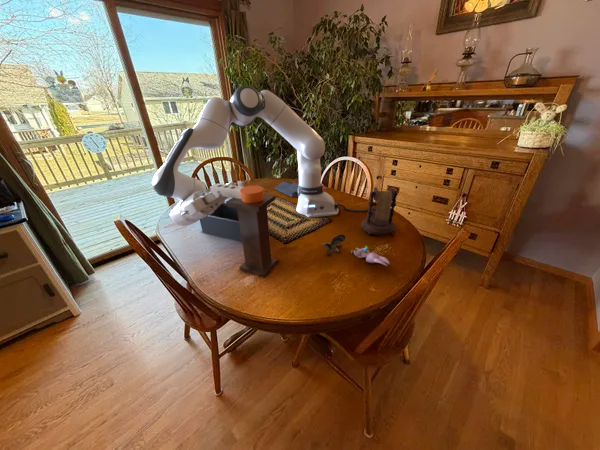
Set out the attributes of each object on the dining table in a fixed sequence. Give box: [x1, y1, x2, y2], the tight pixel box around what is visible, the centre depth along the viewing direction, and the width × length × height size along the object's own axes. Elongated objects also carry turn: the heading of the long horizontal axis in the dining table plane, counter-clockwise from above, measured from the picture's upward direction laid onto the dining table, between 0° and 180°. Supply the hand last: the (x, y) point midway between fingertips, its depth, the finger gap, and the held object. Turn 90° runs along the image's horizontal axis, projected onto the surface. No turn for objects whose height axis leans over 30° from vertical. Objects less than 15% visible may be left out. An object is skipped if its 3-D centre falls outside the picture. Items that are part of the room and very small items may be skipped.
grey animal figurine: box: [321, 233, 347, 256], centre depth 91 cm, size 8×7×9 cm
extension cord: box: [209, 183, 265, 203], centre depth 73 cm, size 18×7×3 cm, turn 67°
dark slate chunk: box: [274, 180, 299, 198], centre depth 151 cm, size 15×22×5 cm
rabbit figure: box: [350, 245, 390, 267], centre depth 85 cm, size 6×6×15 cm
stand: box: [225, 193, 278, 278], centre depth 79 cm, size 11×10×26 cm
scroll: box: [360, 186, 399, 236], centre depth 102 cm, size 15×15×20 cm
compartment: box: [199, 202, 242, 242], centre depth 106 cm, size 23×15×9 cm, turn 67°
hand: (227, 189), depth 75 cm, fingers open, 6 cm apart
